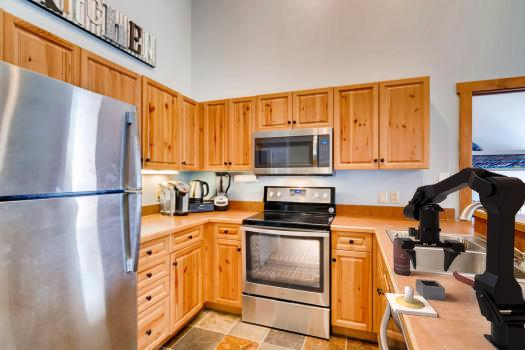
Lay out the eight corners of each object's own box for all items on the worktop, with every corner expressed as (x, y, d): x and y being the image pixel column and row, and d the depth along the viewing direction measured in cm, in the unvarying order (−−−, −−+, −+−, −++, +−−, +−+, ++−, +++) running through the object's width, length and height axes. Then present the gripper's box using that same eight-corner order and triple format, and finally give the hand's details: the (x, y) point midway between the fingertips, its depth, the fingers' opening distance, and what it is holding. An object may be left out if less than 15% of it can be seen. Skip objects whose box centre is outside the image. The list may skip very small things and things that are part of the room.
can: (410, 272, 107) (410, 238, 107) (409, 277, 102) (409, 241, 102) (394, 269, 110) (394, 236, 110) (392, 274, 105) (392, 239, 105)
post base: (437, 317, 72) (437, 297, 72) (394, 312, 75) (394, 293, 75) (422, 299, 83) (422, 282, 83) (385, 295, 86) (385, 279, 86)
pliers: (470, 297, 85) (470, 289, 85) (451, 276, 104) (451, 269, 104) (515, 304, 81) (515, 295, 81) (486, 280, 100) (486, 273, 100)
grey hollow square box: (445, 300, 82) (445, 288, 82) (422, 298, 83) (422, 286, 83) (436, 292, 88) (436, 280, 88) (415, 290, 90) (415, 279, 90)
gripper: (449, 220, 92) (449, 264, 91) (392, 219, 96) (393, 260, 96) (466, 226, 81) (467, 276, 81) (401, 224, 85) (402, 271, 85)
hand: (429, 270), depth 86 cm, fingers open, 9 cm apart
